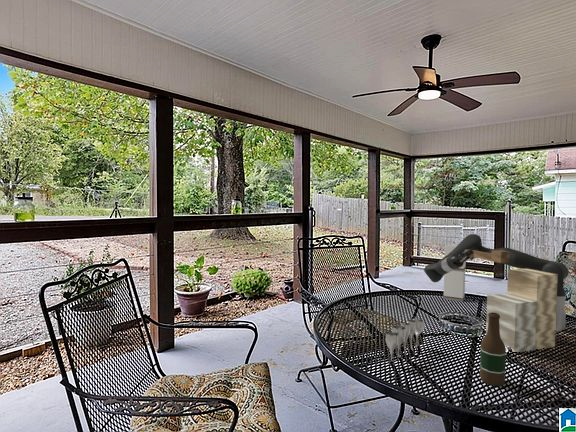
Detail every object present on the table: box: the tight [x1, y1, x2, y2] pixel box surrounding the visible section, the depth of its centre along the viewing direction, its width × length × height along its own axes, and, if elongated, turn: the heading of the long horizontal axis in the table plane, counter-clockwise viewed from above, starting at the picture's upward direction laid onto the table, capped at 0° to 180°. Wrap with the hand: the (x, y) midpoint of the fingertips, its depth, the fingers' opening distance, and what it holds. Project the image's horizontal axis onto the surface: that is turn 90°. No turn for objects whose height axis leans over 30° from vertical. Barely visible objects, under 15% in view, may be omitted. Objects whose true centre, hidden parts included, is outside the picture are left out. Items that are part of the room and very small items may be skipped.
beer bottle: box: [479, 312, 507, 387], centre depth 124 cm, size 8×8×24 cm
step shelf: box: [485, 268, 558, 353], centre depth 158 cm, size 24×14×32 cm, turn 109°
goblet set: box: [385, 317, 425, 362], centre depth 145 cm, size 28×6×13 cm, turn 136°
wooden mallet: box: [465, 250, 510, 264], centre depth 171 cm, size 5×22×5 cm, turn 18°
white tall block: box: [442, 244, 467, 303], centre depth 234 cm, size 11×11×35 cm
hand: (474, 251), depth 176 cm, fingers closed on wooden mallet, 3 cm apart
